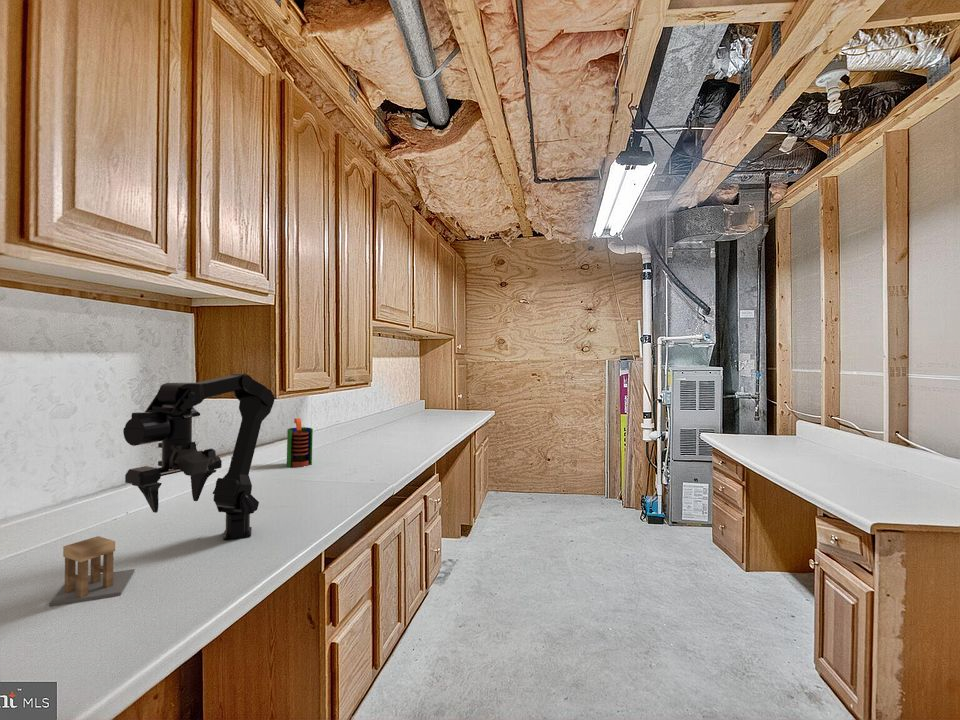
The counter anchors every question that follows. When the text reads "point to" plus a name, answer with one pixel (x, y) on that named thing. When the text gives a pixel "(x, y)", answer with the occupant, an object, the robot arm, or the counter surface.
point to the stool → (82, 554)
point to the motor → (299, 445)
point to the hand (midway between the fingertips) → (176, 506)
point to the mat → (95, 589)
